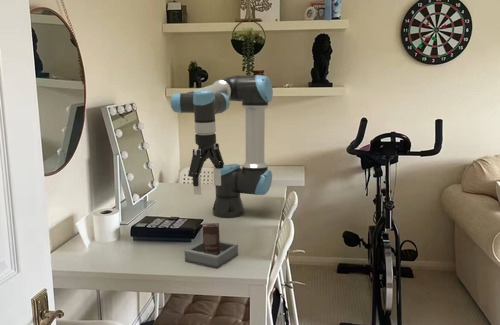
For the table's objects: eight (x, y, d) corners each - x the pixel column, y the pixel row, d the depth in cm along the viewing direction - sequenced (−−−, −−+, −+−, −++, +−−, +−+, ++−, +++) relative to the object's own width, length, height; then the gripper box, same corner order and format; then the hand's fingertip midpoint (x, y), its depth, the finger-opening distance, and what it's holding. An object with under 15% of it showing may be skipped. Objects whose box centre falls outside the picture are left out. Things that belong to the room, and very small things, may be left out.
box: (220, 253, 186) (219, 222, 183) (220, 257, 181) (219, 226, 179) (203, 253, 185) (202, 222, 183) (203, 258, 181) (202, 226, 179)
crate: (206, 248, 193) (206, 238, 192) (238, 255, 186) (238, 244, 185) (184, 261, 181) (184, 250, 180) (217, 268, 174) (217, 257, 173)
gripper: (215, 127, 193) (217, 180, 198) (176, 138, 172) (179, 197, 177) (231, 128, 190) (233, 182, 194) (194, 139, 168) (197, 199, 173)
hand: (207, 189), depth 186 cm, fingers open, 13 cm apart
